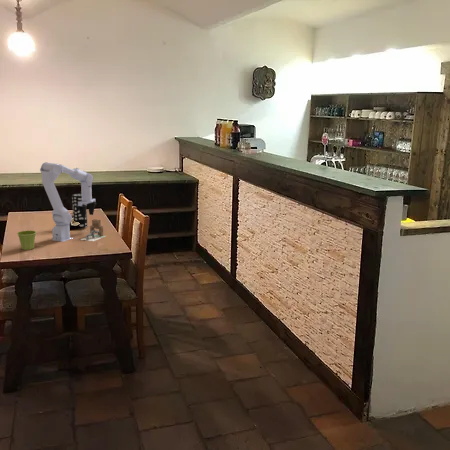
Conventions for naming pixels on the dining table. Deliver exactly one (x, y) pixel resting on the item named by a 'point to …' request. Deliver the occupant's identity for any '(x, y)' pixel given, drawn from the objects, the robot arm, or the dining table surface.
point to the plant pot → (27, 239)
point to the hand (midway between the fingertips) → (87, 215)
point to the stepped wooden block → (97, 226)
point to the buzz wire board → (91, 238)
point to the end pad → (98, 236)
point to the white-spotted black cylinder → (78, 211)
